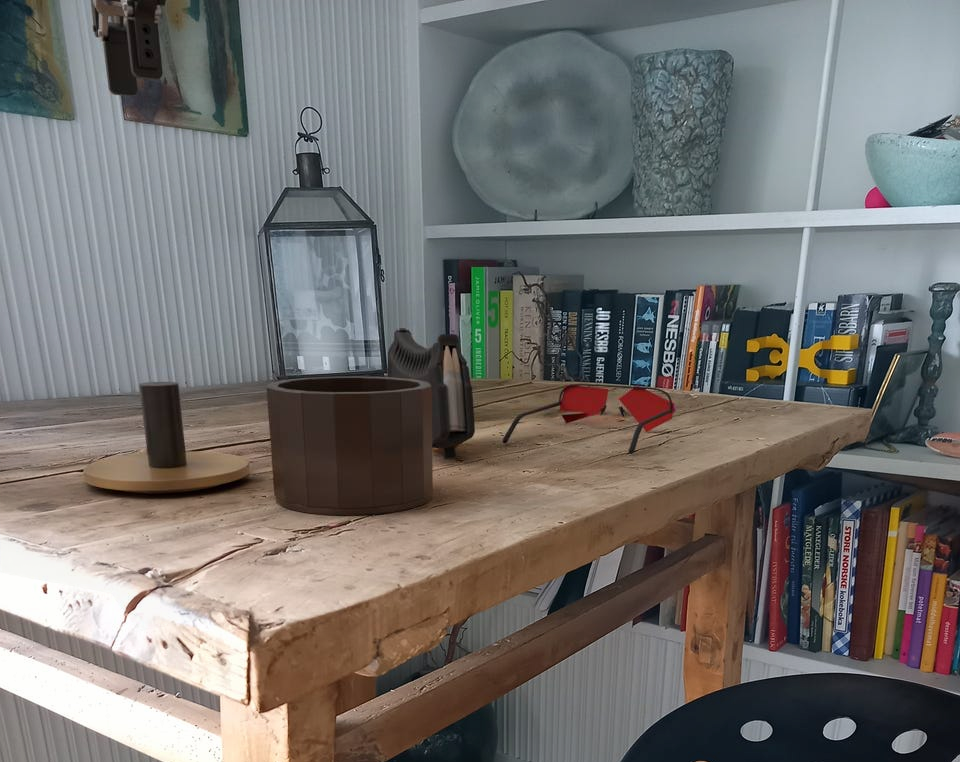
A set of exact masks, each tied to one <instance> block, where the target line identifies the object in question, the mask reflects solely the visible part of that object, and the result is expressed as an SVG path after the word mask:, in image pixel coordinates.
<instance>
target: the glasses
mask: <svg viewBox="0 0 960 762" xmlns="http://www.w3.org/2000/svg"><path fill="white" fill-rule="evenodd" d="M609 388H618V389H619V388H620V389H630V390H629V391H627V392H626V393H624V394H623V395H621V396H620V397H619V398H618V400H619V402H620V403H621V404H622V405H623V406H624V407H623V406H622V405H621V406H618V409H619V412H620V414H621V416H622V417H623V418H625V416H627V415H628V414H627V412H626V410H627V411H628V413H630V414H631V416H632V417H633V418H634V419H635V421H636V422H637V423H638V424H637V426H636V428H635V430H634V433H633V435H632V438H631V442H630V445H629V448H628V454H630V455H634V453H635V450H636V447H637V443H638V441H639V437H640V435H641V431H642V429H643V430H644V431H645V432H646V433H648V432H650V431H651V430H654V429H656V428H657V427H659V426H661V425H663V424H665V423H667V422H668V421H671V420H672V419H673V415H674V414H675V413H676V410H677V408H676V406H675V403H674V402H673V401H672V398H671V396H670V394H669V393H668V392H667V391H665V390H664V389H661V388H656V387H650V386H640V385H638V384H637V385H634V386H629V385H614V384H613V385H611V384H600V383H597V384H595V383H572V384H564V387H563V388H562V389H561V391H560V393H559V396H558V401H557V402H554V403H551V404H547V405H545V406H541V407H538V408H534V409H531V410H528V411H526V412H525V411H524V412H522V413H519V414H518V415H517V416H516V417H515V418H514V420H513V421H512V423H511V424H510V426H509V427H508V429H507V431H506V433H505V434H504V436H503V438H502V439H501V440H502V443H503V444H507V443H508V441H509V440H510V438H511V436H512V434H513V433H514V431H515V429H516V427H517V426H518V424H519V423H520V421H521V420H522V419H523V418H524V417H527V416H529V415H532V414H536V413H540V412H543V411H546V410H550V409H552V408H556V407H559V409H558V411H559V412H570V413H565V414H560V416H561V417H562V419H563V421H564V422H565V424H571V423H573V422H576V421H579V420H582V419H587V418H589V417H592V416H595V415H600V416H602V415H603V414H604V413H605V412H606V409H607V407H608V406H607V402H608V395H609ZM651 390H652V391H656V392H661V393H663V394H664V395H665V396H667V398H668V399H666V398H665V397H662V396H660V395H658V394H656V393H655V392H652V391H651ZM624 408H625V409H626V410H625V409H624Z"/></svg>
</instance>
